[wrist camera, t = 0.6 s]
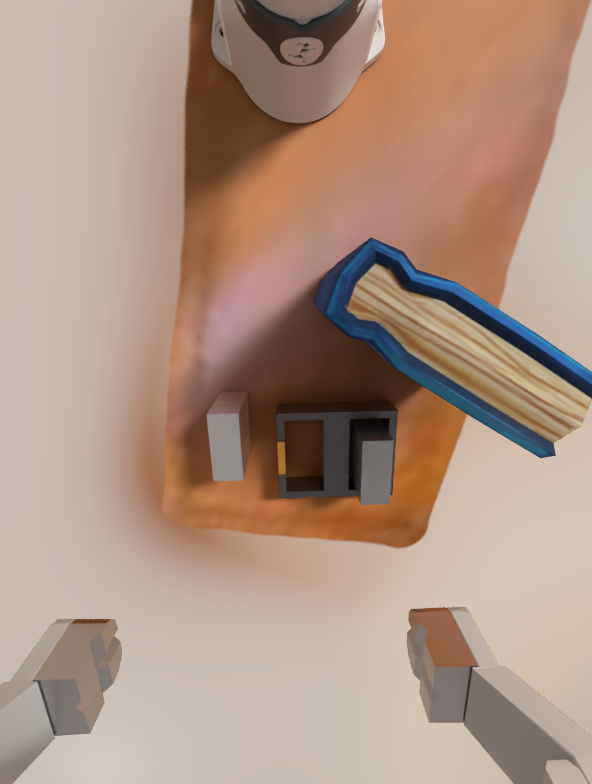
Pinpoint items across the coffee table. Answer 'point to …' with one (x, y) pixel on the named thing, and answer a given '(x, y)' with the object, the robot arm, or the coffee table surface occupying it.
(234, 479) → the block
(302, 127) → the coffee table surface
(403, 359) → the book
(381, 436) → the rack
